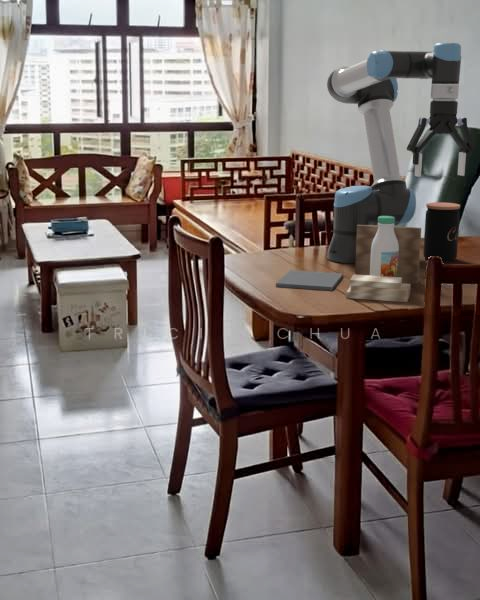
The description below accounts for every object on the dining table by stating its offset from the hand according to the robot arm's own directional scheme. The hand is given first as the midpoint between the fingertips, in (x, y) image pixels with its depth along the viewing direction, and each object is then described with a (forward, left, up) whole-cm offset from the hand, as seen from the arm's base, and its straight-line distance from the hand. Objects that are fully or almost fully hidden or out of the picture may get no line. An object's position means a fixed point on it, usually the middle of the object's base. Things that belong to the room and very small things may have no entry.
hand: (439, 175), depth 243 cm
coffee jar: (0, +27, -30) cm, 40 cm away
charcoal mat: (-34, -17, -30) cm, 48 cm away
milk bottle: (-13, -18, -30) cm, 37 cm away
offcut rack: (-13, -20, -30) cm, 38 cm away
